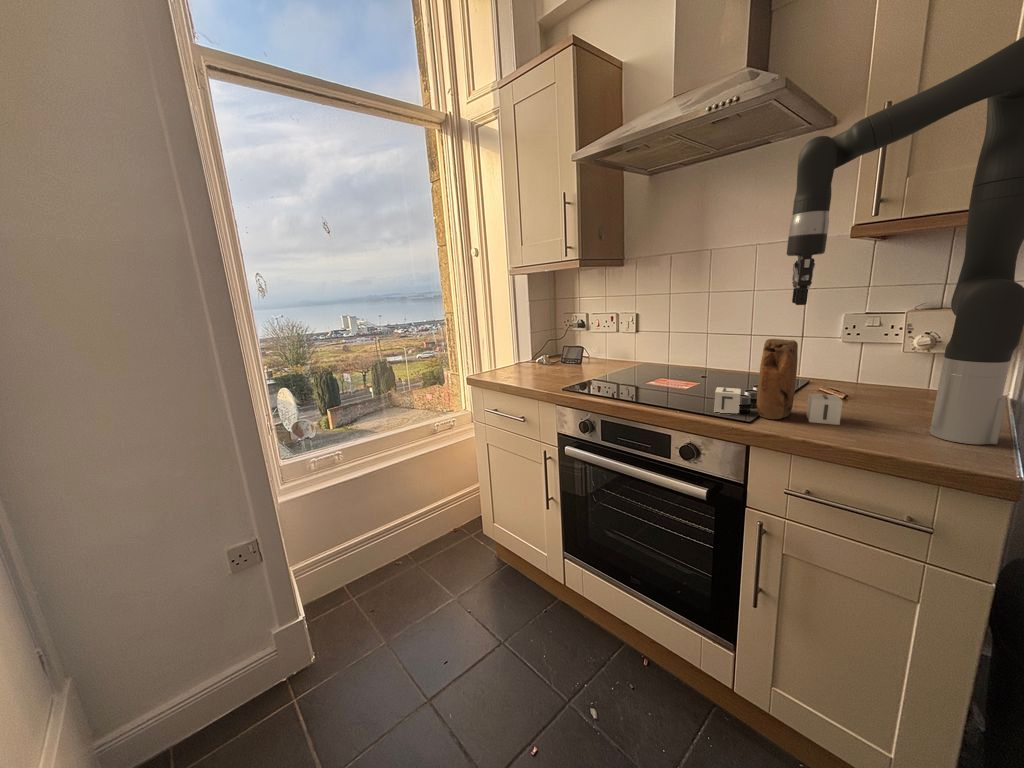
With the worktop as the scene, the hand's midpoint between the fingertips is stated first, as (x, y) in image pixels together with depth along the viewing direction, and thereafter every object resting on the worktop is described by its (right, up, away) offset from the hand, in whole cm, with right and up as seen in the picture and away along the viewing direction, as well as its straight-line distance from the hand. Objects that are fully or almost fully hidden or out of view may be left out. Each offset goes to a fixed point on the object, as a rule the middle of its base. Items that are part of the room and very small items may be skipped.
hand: (798, 304), depth 101 cm
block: (-1, -28, +8) cm, 29 cm away
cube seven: (-10, -27, +14) cm, 32 cm away
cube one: (+8, -29, +3) cm, 30 cm away
